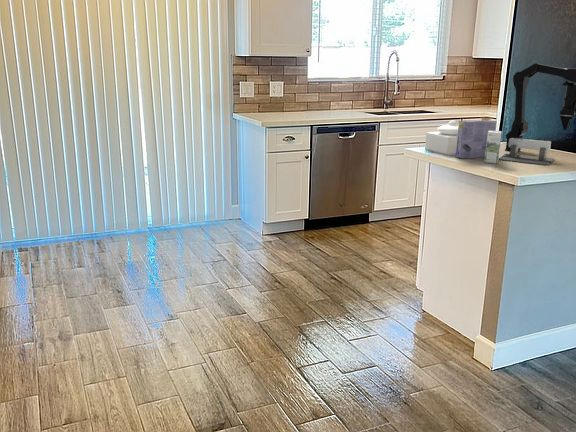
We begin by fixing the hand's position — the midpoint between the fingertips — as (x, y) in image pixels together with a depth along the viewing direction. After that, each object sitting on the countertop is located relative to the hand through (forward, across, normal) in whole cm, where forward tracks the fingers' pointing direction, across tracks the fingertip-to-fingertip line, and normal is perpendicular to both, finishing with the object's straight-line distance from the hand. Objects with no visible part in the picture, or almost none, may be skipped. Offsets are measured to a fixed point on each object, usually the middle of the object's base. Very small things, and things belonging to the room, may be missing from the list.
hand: (566, 128), depth 267 cm
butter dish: (+15, -14, +51) cm, 55 cm away
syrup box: (+14, -35, +26) cm, 45 cm away
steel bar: (+9, -15, +13) cm, 22 cm away
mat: (+14, -24, +13) cm, 30 cm away
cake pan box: (+14, -25, +35) cm, 46 cm away
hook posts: (+14, -15, +13) cm, 24 cm away
